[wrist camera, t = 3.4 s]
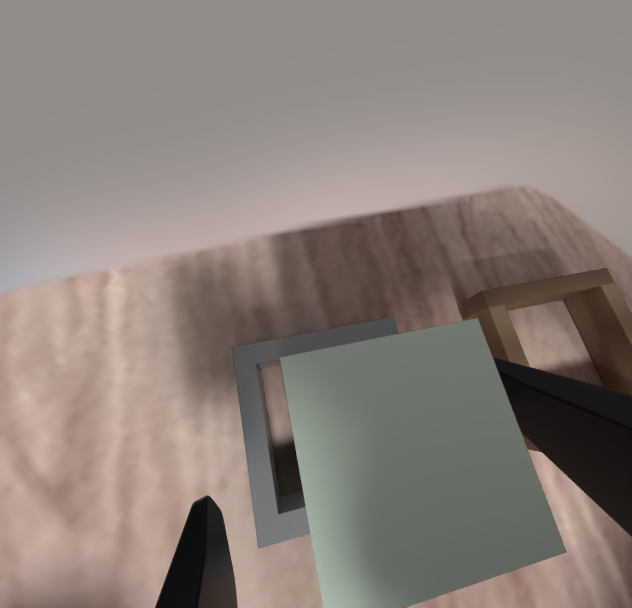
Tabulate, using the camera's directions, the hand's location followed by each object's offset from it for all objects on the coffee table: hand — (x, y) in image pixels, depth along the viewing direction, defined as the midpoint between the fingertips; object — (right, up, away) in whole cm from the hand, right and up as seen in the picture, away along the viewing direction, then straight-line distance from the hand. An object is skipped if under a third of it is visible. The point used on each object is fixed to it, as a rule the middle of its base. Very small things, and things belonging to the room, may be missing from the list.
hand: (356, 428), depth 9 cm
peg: (-1, -2, +7) cm, 8 cm away
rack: (+13, 0, +10) cm, 16 cm away
